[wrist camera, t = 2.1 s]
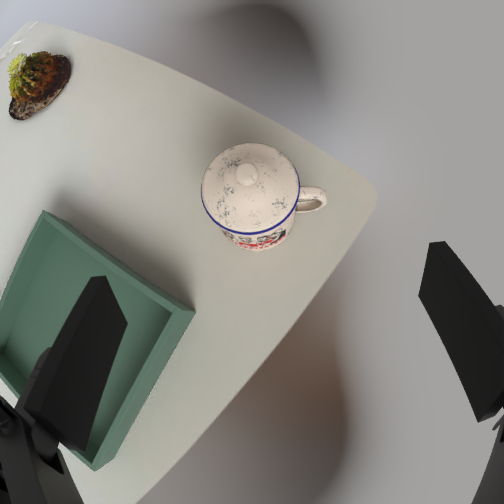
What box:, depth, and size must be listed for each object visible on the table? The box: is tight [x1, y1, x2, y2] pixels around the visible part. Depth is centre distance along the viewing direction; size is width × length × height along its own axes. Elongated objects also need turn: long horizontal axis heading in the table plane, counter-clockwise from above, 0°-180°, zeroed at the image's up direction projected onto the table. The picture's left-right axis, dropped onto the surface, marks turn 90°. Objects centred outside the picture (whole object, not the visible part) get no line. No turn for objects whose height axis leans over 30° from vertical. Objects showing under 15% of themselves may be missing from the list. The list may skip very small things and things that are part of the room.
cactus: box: [8, 51, 70, 120], centre depth 43 cm, size 17×16×10 cm
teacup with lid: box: [201, 143, 328, 251], centre depth 32 cm, size 12×9×12 cm
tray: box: [0, 210, 196, 472], centre depth 34 cm, size 24×24×5 cm
